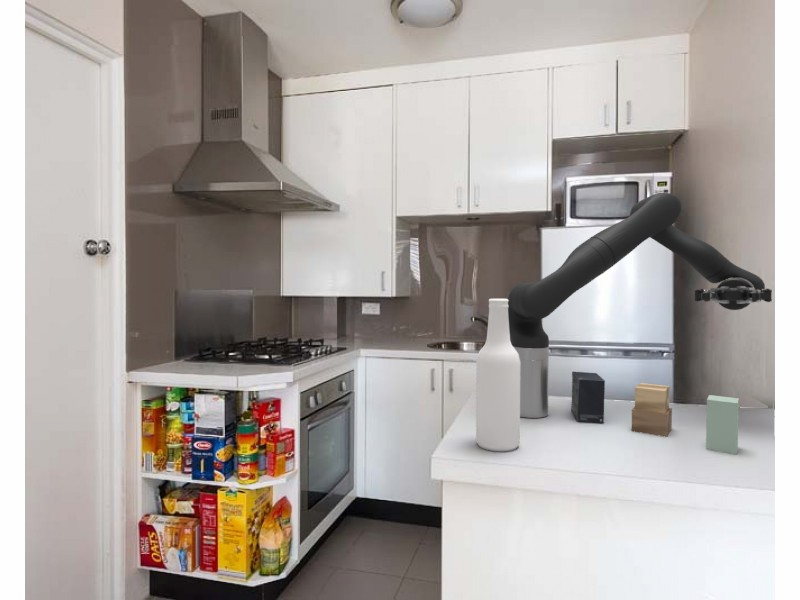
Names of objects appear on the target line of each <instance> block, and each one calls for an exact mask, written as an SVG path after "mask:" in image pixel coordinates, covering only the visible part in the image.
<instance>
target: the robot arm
mask: <svg viewBox="0 0 800 600" xmlns="http://www.w3.org/2000/svg"><path fill="white" fill-rule="evenodd" d="M681 213H682V203H681V200H680V199H679V197H678V196H676V195H675V194H673V193H669V192H658V193H655V194H652V195H650V196H648V197H646V198H644V199H641V200H639V201H638V202H636V203H635V204H634V205H633V206H632V207H631V209H630V212H629V216H628V217H626V218H624V219H622V220H621V221H618V222H617V223H614V224H612V225H611V226H610V225H609V226H608V227H606V228H605V229H603V230H601V231H599V232H597V233H596V234H594V235H592V236H591V237H589V238H587V239H586V240H585V241H583V242H582V243H581V244H580V245H578V246H577V247H576V248H574V249H573V250H572V252H570V254H569V255H568V256H567V258H566V259H565V261H564V262H563V263H562V264H561V265H560V266H559V267H558V268H557V269H556V270H555V271H553V272H552V273H550V274H549V275H547V276H545V277H544V278H541V279H540V280H537V281H535V282H522V283H519V284H516V285H515V286H514V287H512V289H511V290H510V292H509V294H508V298H507V299H508V300H509V301H508V305H509V307H508V318H509V332H510V341H511V344H512V346H513V347H514V348H515V350H516V351H517V353H518V354H519V358H520V418H529V419H533V418H534V419H537V418H544V417H547V416H549V366H550V365H549V363H550V362H549V361H550V360H549V359H550V358H549V355H550V354H549V353H550V352H549V351H550V350H549V349H550V347H549V344H550V340H549V339H550V338H549V335H548V334H547V333H546V331H545V330H544V327H543V324H542V320H543V319H545V318H547V317H548V316H550V315H551V314H552V313H554V312H555V311H556V309H558V308H559V307H560V306H561V305H562V304H563V303H565V301H567V300H568V299H569V298H570V297H571V296H572V295H573V294H575V293H576V292H578V291H579V290H580V289H582V288H584V287H585V286H586V285H588V284H589V283H591V282H593V281H594V280H595V279H596V278H598V277H599V276H601V275H602V274H605V272H607V271H609V269H611V268H612V267H614V266H615V265H617V264H618V263H619V262H620V261H621V260H623V259H624V258H625V257H627V256H628V255H629V254H630V253H632V251H634V250H635V249H636V248H637V247H638V246H640V245H641V244H642V243H643V242H645V241H647V240H648V239H652V240H654V241H655V242H657V243H658V244H660V245H661V246H663V247H664V248H666V249H667V250H669V251H670V252H672V253H674V254H675V255H676V256H677V257H679V258H680V259H682V260H683V261H685V263H687V264H688V265H690V266H691V268H692V269H694V270H695V271H696V272H697V273H699V274H700V275H701V276H702V277H703V278H704V279H705V280H706V281H708V282H709V283H711V284H718V283H719V284H718V285H717V287H711V288H710V289H709V290H708V289H703V288H701V289H695V290H694V302H700V301H701V302H702V301H703V302H707V303H708V302H710V303H713V304H719V306H721V307H722V308H724V309H726V310H730V311H739V310H742V309H745V308H747V307H748V306H749V305H750V304H754V303H760V302H762V301H764V302H766V303H770V302H772V300H773V299H772V293H773V290H772V289H770V288H766V284H765V282H764V280H763V279H762V278H761V277H760V276H758V275H757V274H755V273H753V272H750V271H748V270H746V269H744V268H741V267H740V266H738V265H736V264H734V263H733V262H731V261H730V260H729V259H728V258H727V257H726V256H725V255H723V254H722V253H721V252H720V251H719V250H717V248H715V247H714V246H712V245H710V244H709V243H708V242H705V241H703V240H701V239H698V238H696V237H694V236H692V235H689V234H687V233H686V232H684V231H681V230H680V229H678V228H677V227H675V226H674V224H675V223H676V222H678V219H679V218H680V216H681Z"/></svg>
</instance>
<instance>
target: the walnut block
mask: <svg viewBox="0 0 800 600" xmlns="http://www.w3.org/2000/svg"><path fill="white" fill-rule="evenodd" d="M672 421H673V408H672V407H669V409H668V410H667V412H666V413H665V414H662V413H655V412H648V411H641V410H635V406H634V407H633V408H632V409H631V432H634V431H635V433H640V432H642V433H641V434H646V433H649V435H652V434H654V435H653V436H658V435H660V436H659V437H664V436H665V438H667V437H668V436H669V435H670V433H669V432H671V431H672V429H673V422H672Z"/></svg>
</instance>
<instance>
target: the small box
mask: <svg viewBox="0 0 800 600" xmlns="http://www.w3.org/2000/svg"><path fill="white" fill-rule="evenodd" d="M605 382H606V381H605V379H604V378H602V376H600V375H599V374H598V373H597V372H588V371H587V372H583V371H572V372H571V384H572V385H571V407H570V412H571V413H572V415H573V417H574V419H575V421H576V422H578V423H580V422H581V423H592V424H593V423H594V424H595V423H596V424H604V423H605V422H604V420H605V418H604V417H605V388H606V387H605V385H606V383H605Z"/></svg>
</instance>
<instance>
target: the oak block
mask: <svg viewBox="0 0 800 600" xmlns="http://www.w3.org/2000/svg"><path fill="white" fill-rule="evenodd" d="M670 387H671V386H669V385H663V384H651V383H645V382H640V383H639V384H637V385H636V386H635V387H634V407H635V410H641V411H648V412H655V413H662V414H665V413H666V412H667V410H668V409H669V408H670V390H671V389H670Z"/></svg>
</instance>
